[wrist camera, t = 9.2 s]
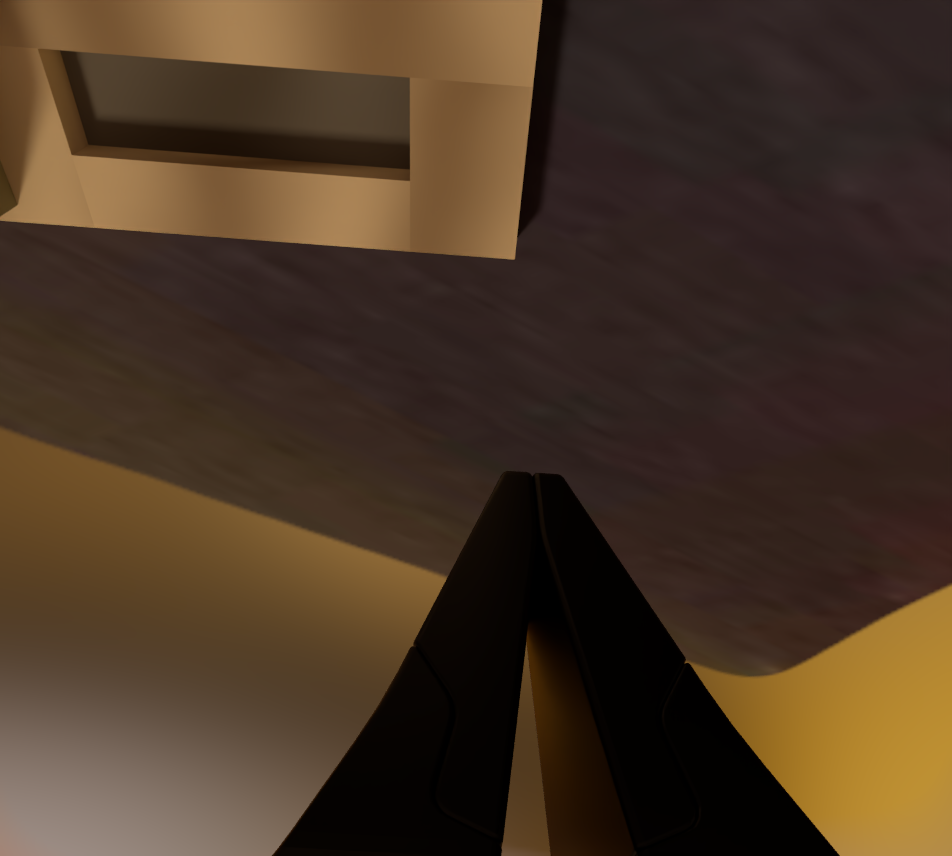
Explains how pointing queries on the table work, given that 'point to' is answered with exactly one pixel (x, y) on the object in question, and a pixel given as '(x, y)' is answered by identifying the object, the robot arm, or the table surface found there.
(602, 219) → the table surface
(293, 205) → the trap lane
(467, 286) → the table surface
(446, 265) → the table surface
